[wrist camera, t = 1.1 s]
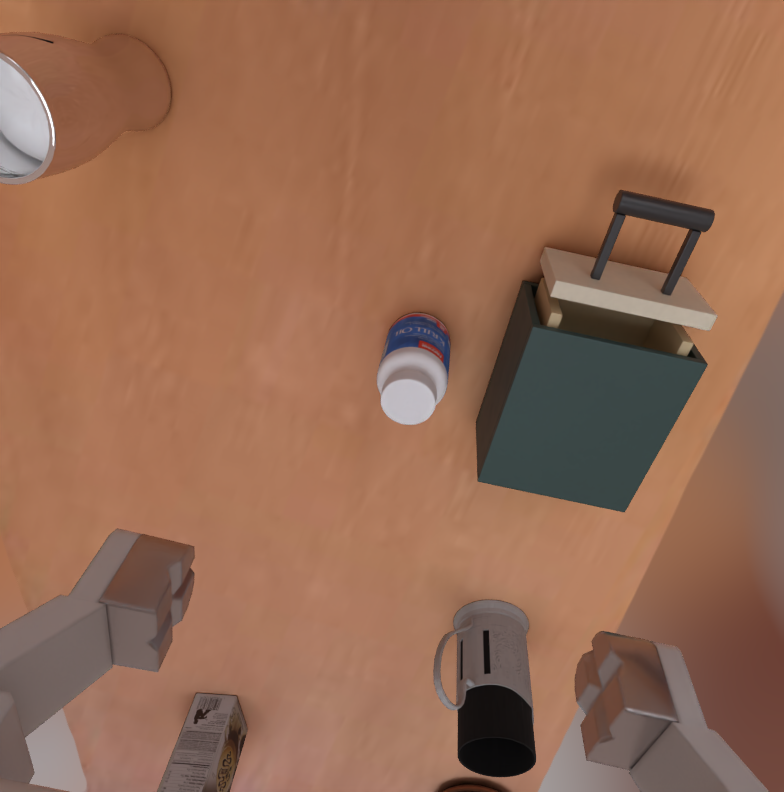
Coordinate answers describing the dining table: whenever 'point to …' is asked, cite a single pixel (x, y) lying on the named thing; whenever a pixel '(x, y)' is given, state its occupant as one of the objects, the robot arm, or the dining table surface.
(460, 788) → the brown round flanged piece
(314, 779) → the dining table surface
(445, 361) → the pill bottle
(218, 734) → the coffee box
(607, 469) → the cabinet
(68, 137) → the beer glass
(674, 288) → the drawer
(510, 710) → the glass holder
